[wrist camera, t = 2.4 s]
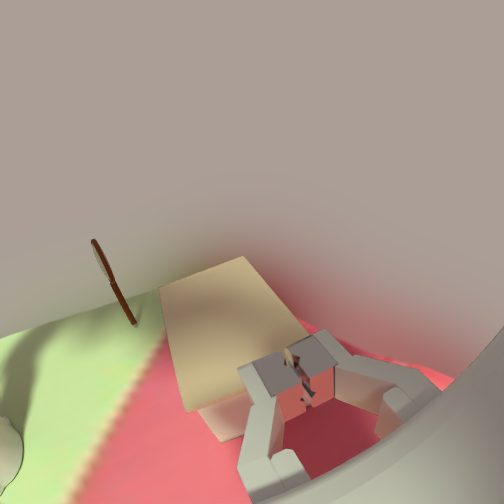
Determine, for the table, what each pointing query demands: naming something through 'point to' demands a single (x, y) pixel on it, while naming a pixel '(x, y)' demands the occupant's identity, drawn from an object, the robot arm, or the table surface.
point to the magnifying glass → (111, 279)
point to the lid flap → (222, 329)
